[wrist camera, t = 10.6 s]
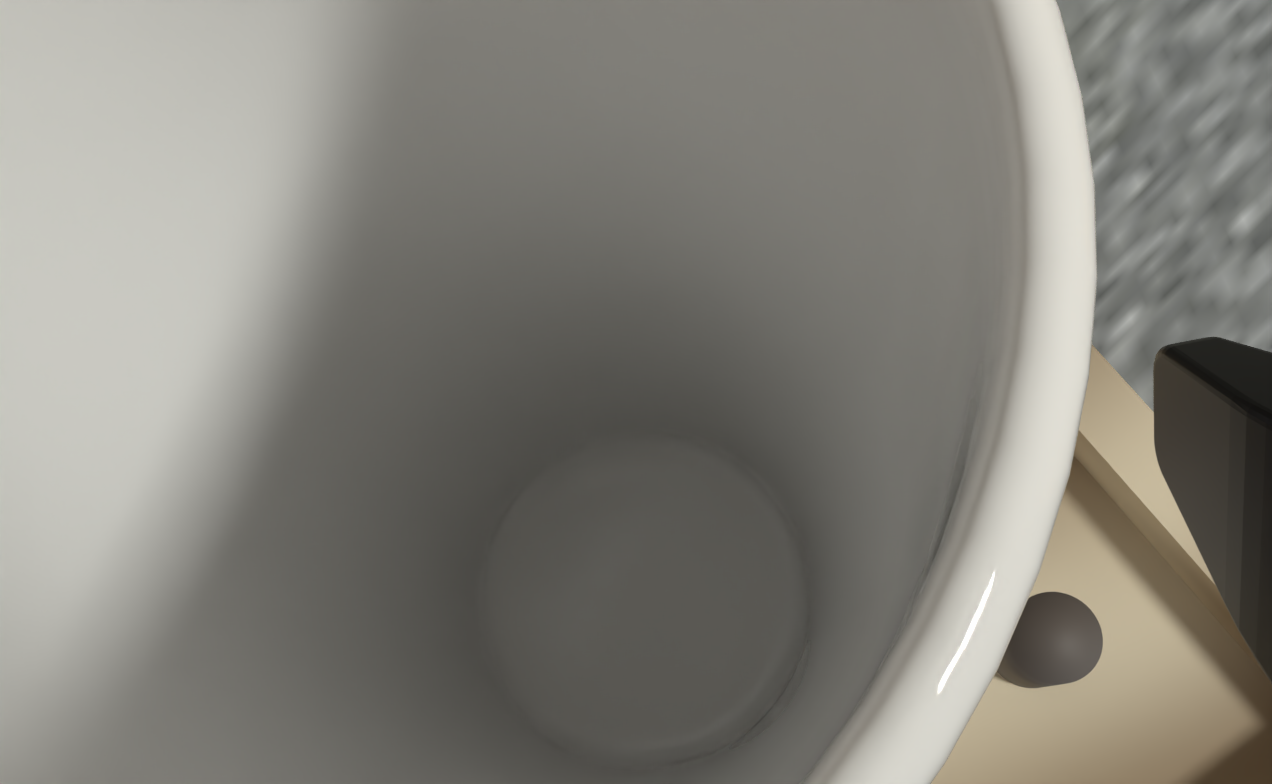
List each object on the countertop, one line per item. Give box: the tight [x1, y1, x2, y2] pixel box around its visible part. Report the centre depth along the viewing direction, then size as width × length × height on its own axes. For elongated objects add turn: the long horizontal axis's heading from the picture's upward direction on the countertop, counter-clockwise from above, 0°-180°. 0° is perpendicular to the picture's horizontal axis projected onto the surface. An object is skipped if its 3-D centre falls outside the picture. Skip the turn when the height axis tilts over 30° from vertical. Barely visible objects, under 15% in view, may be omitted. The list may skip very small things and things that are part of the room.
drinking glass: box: [0, 0, 1097, 784], centre depth 11 cm, size 7×7×15 cm
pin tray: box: [931, 345, 1272, 784], centre depth 18 cm, size 16×14×3 cm
